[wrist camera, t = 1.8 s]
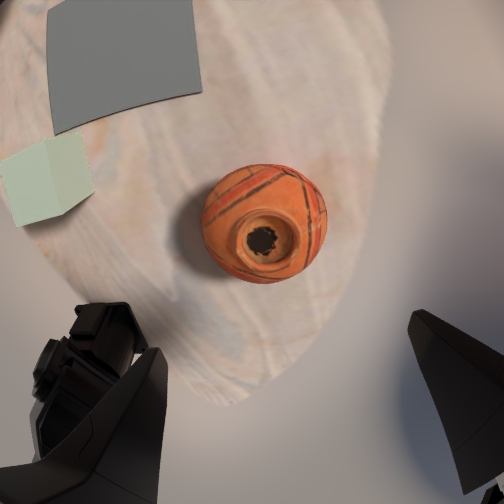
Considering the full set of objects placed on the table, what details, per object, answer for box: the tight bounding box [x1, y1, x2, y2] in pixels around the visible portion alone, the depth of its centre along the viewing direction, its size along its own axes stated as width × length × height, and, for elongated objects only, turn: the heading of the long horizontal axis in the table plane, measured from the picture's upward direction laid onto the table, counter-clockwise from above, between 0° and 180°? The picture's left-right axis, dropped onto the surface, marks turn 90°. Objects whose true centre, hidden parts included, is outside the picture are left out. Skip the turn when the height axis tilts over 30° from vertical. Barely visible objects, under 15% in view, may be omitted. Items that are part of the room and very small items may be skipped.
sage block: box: [0, 131, 95, 227], centre depth 16 cm, size 5×5×5 cm
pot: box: [201, 164, 327, 284], centre depth 18 cm, size 8×8×7 cm
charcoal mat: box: [47, 0, 202, 135], centre depth 13 cm, size 12×12×1 cm
